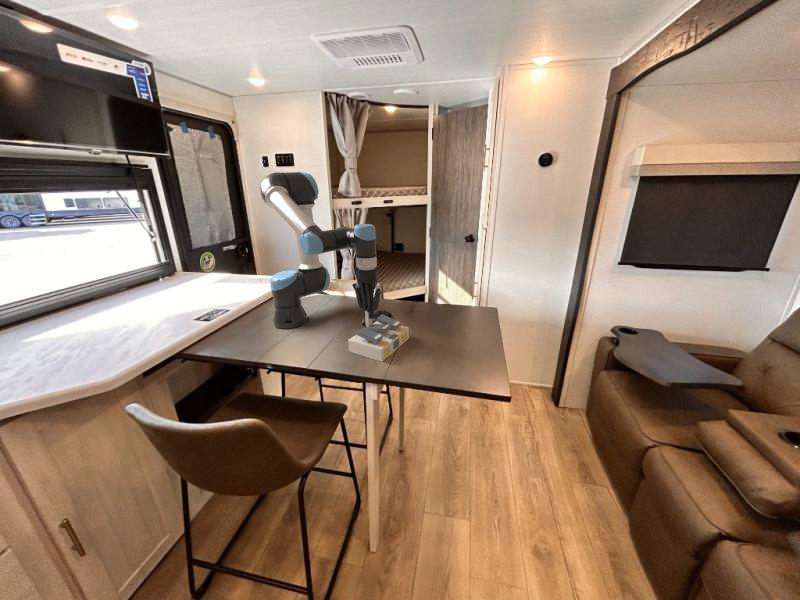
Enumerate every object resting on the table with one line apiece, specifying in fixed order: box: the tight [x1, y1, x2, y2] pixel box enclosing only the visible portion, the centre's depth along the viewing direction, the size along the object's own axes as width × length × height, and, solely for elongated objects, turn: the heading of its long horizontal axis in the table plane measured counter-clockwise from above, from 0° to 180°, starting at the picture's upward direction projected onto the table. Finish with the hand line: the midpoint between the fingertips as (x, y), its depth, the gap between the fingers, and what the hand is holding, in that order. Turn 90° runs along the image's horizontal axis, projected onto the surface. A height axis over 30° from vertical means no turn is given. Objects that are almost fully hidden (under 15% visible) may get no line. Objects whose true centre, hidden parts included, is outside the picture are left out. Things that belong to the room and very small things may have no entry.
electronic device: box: [361, 309, 394, 328], centre depth 143 cm, size 9×6×15 cm
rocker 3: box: [377, 314, 402, 330], centre depth 126 cm, size 9×4×2 cm, turn 60°
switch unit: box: [347, 321, 410, 363], centre depth 122 cm, size 15×20×6 cm
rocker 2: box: [366, 324, 392, 333], centre depth 121 cm, size 9×4×2 cm, turn 59°
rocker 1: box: [356, 326, 383, 344], centre depth 115 cm, size 9×4×2 cm, turn 60°
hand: (369, 325), depth 123 cm, fingers closed
